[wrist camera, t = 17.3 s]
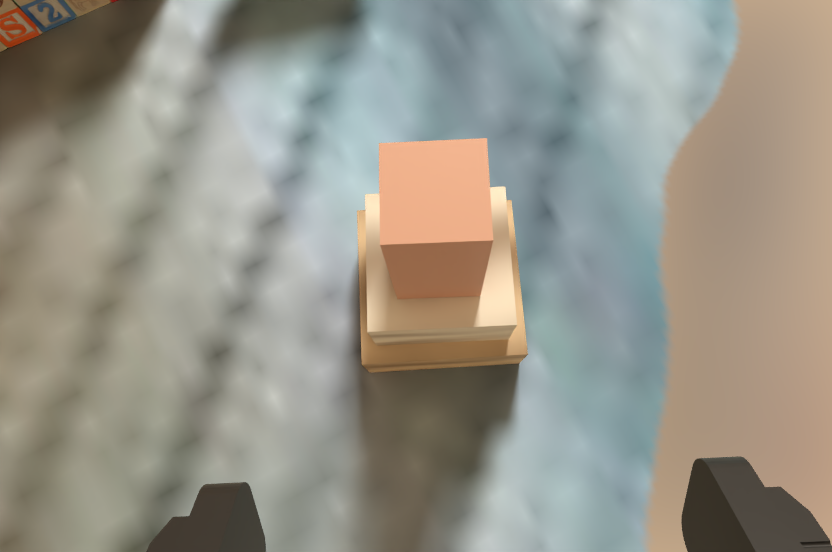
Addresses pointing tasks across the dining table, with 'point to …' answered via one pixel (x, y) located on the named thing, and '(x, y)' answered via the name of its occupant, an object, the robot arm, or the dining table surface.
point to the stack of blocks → (38, 17)
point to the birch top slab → (445, 314)
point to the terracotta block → (435, 216)
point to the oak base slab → (446, 352)
